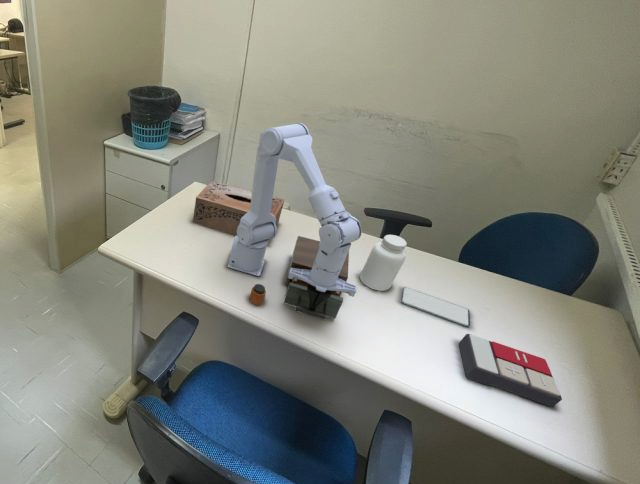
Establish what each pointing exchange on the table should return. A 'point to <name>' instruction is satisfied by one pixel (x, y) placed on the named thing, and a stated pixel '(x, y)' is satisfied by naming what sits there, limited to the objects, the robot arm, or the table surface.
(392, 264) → the pill bottle
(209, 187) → the tissue box cover
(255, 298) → the bottle
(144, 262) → the table surface
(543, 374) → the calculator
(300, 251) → the cabinet
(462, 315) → the smartphone
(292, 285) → the drawer
